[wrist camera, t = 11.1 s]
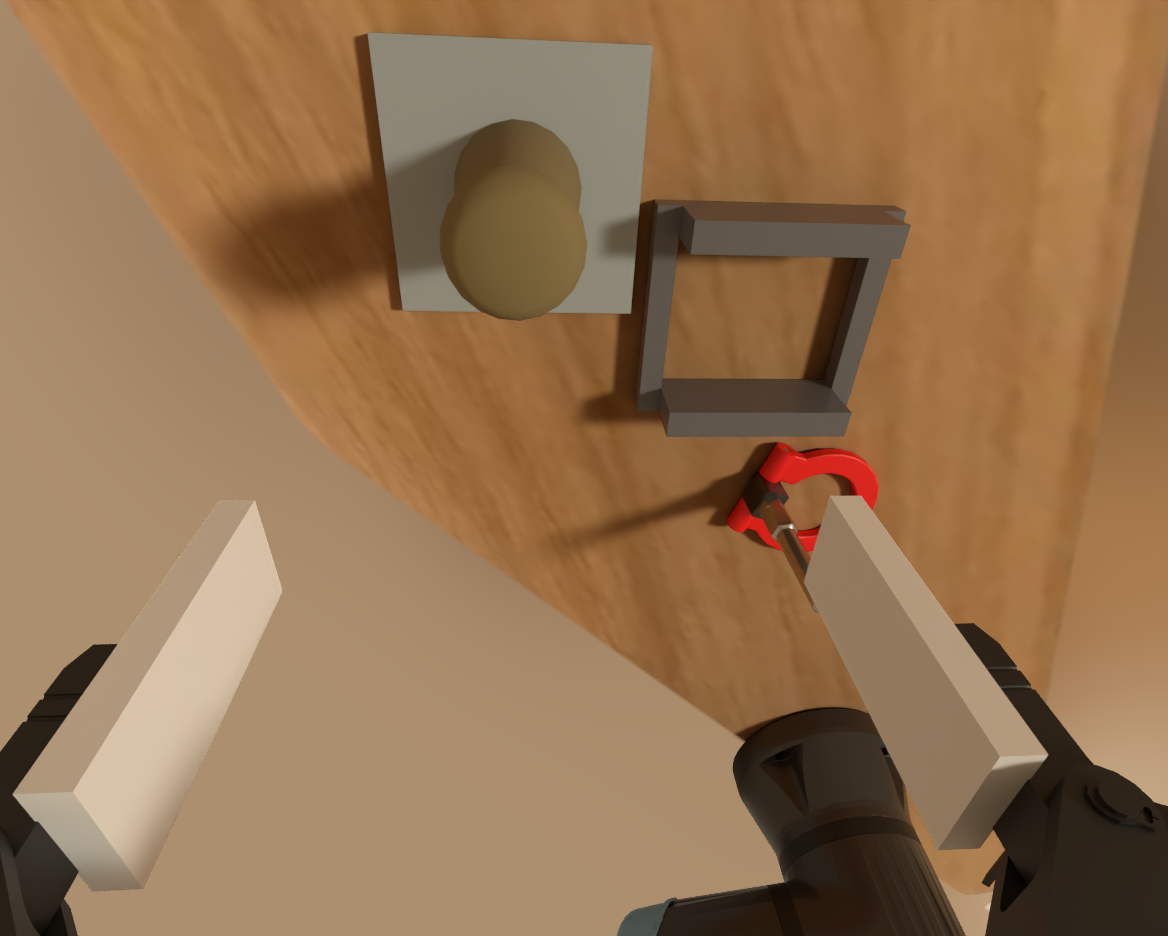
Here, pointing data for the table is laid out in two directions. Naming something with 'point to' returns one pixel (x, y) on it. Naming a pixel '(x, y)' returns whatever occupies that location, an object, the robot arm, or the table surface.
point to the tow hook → (768, 497)
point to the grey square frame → (764, 234)
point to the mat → (498, 93)
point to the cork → (514, 222)
